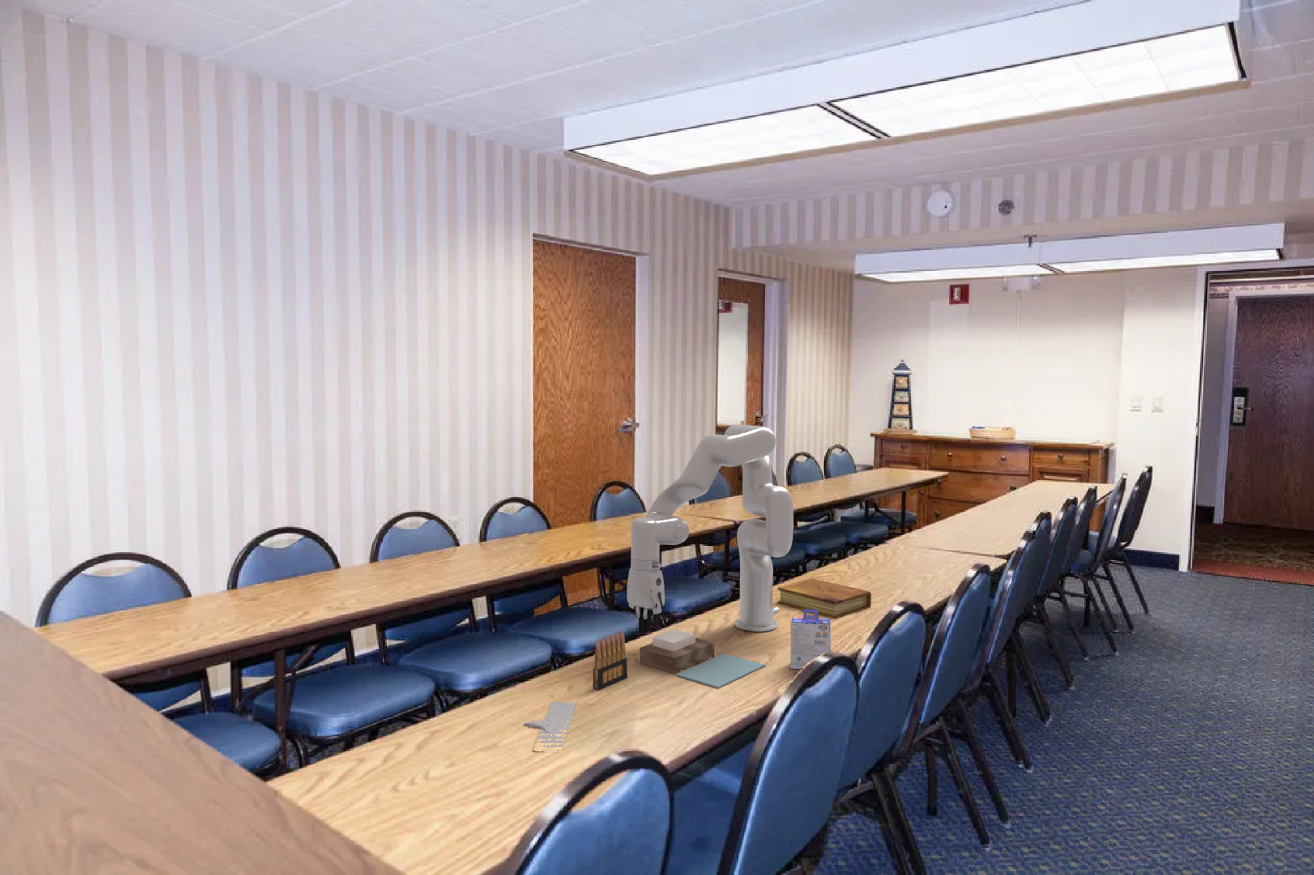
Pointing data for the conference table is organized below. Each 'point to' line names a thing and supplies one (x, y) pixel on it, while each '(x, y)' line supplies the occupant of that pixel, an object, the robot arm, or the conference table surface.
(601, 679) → the ammunition clip
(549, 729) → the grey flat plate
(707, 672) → the mat
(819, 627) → the ink cartridge box
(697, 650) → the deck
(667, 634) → the white rectangular block
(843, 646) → the conference table surface
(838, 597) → the diary
